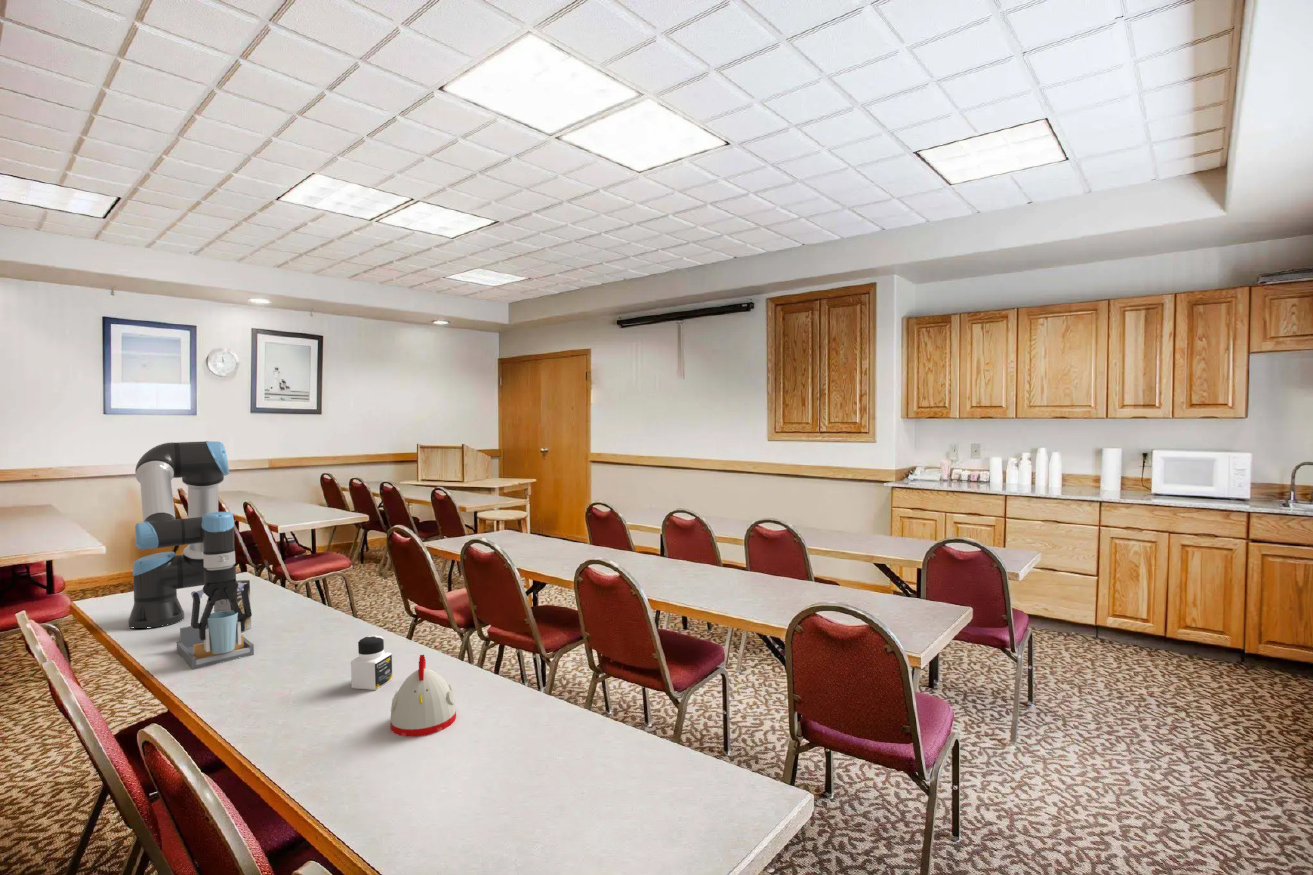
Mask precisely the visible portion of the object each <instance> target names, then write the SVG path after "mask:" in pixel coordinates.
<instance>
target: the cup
mask: <svg viewBox="0 0 1313 875" xmlns="http://www.w3.org/2000/svg"><path fill="white" fill-rule="evenodd" d="M237 617H238V613H235V612H234V611H221V612H216V613H214V612H211V614H210V617H209V618H208V622H207V627H208V628H209V641H210V647H211V652H212V653H213V654H222V653H227V652H230V651H232V650H234V649H235V640H236V628H237Z"/></svg>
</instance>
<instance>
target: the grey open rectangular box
mask: <svg viewBox="0 0 1313 875" xmlns="http://www.w3.org/2000/svg"><path fill="white" fill-rule="evenodd" d="M206 626H207V625H206ZM179 635H180V636H179V637H180V640H179V641H177V642H176V654H177V655H179V657H180V658H181V659H182V658H183V659H182V660H183V661H184V662H185V663H186V664H187V666H188V667H189V668H190V669H191V670H195V669H200V668H204V666H205V667H208V666H212V665H216V663H217V664H221V663H224V662H223V661H225V662H230V661H233V659H234V660H236V658H238V659H240V658H239V657H242V658H245V657H249V656H253V655H255V653H254V652H255V651H254V650H255V649H254V646H255V645H254V643H253V642H251V641H250V640H249V639H247V638H246V637H245V636H244V648H243V649H239V650H235V651H231V652H227V653H222V654H218V655H214V656H209V657H205V658H201V659H196V657H195V656H194V647H193V645H195V644H200V643H204V640H202V641H201V640H200V638H199V629H197V628H195V629H194V628H193V627H192V626H191V625H190V626H184V627H179ZM220 662H221V663H220Z"/></svg>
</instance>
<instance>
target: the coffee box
mask: <svg viewBox="0 0 1313 875" xmlns="http://www.w3.org/2000/svg"><path fill="white" fill-rule="evenodd" d="M236 581H237V582H238V583H247V584H248V585H249V589H248V596H249V602H250V607H251V582H250V581H251V580H250V579H246V580H245V579H243V580H241V579H240V580H236ZM233 596H234V598H235V600H236V602H237V604H238V606H239V608H240V610H241V612H242V614H244V607H243V602H242V596H241V591H240V590H239V588H238V587H237V589H236V590H235V592H234V593H233ZM251 608H252V607H251ZM213 609H214V610H213V611H214V612H213V613H216V612H221V611H234V610H233V608H232V606H231V604H230V602H229V600H228V599H222V600H219V601H216V602H215V605H214V606H213ZM237 620H238V618H237ZM244 622H245V630H244V632H247V631H248V630H250V629H252V616H251V617H248V618H246V620H245V621H244ZM241 634H243V632H241Z"/></svg>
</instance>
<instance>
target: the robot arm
mask: <svg viewBox="0 0 1313 875" xmlns="http://www.w3.org/2000/svg"><path fill="white" fill-rule="evenodd" d="M226 452H227V451H226V447H225V445H224V443H223V442H221V441H210V440H205V441H181V442H164V443H161V444H158V445H156V446H153V447H152V448H151V449H149V450H148V451H146V452H145V453H144V454H143V455H142V456H141V457H140V458H139V460H138V462H137V463H136V467H135V474H134V475H135V479H136V481H137V482H138V483H139V484H140V495H141V497H140V498H141V500H140V501H141V511H142V521H141V522H137V523H136V524H135V526H134V529H135V530H134V531H135V532H134V534H135V536H134V537H135V546H136V548H137V549H138V550H146V549H147V550H149V549H150V550H151V549H152V550H155V549H159V548H166V547H167V548H169V547H176V546H177V547H178V546H186V547H185V548H184V549H183V551H182V552H183V553H182V554H178V555H177V554H176V552H175V551H163V552H157V553H152V554H149V555H146V556H143V557H140V558H137V559H136V560H135V561H134V562H133V564H132V573H131V574H132V577H133V582H132V583H133V606H132V608H131V612H130V615H129V618H128V624H127V625H128V628H129V627H134V628H147V627H157V628H159V627H158V626H162V625H167V624H171V623H174V624H177V623H179V622H181V621H183V620H184V619H185V613H184V612H185V611H184V609H183V607H182V605H181V603H180V601H179V598H178V592H177V590H179V589H181V590H182V589H186V588H187V589H188V588H193V587H201V586H203V587H202V589H200V590H197V591H196V590H195V591H192V592H191V594H190V595H191V598H192V608H191V609H192V610H191V621H190V626H192V627H193V628H194V629H195V628H197V629H199V638H200V640H201V641H202V640H204V650H205V651H206V652H210V642H209V628H208V627H207V626H206V625H207V622H208V618H209V617H210V614H212V611H213V609H214V605H215V602H216V601H219V600H222V599H228V600H229V602H230V604H231V606H232V608H233V610H234V612H235V613H238V617H237V618H238V620H237V628H236V643H237V644H238V645H240V644H241V634H242V633H244V632H245V631H244V630H245V622H244V621H245V620H246V618H248V617H251V618H252V615H253V614H252V607H250V604H251V601H250V602H249V596H248V589H249V585H248V584H247V583H238V582H237V581H238V580H237V571H236V570H237V568H236V566H235V564H236V551H235V550H236V548H235V521H234V514H233V513H232V512H231V511H219V485H220V484H222V483H223V482H224V481H225V480H224V479H225V476H228V475H229V474H230V469H229V468H230V466H229V462H228V457H227V453H226ZM178 478H180V479H181V482H182V484H184V485H186V486H187V516H188V517H187V518H177V519H176V512H175V504H174V495H173V488H172V486H173V485H172V480H173V479H178ZM237 587H238V588H239V590H240V591H241V596H242V602H243V607H244V614H242V612H241V610H240V608H239V606H238V604H237V602H236V600H235V598H234V596H233V593H234V592H235V590H236V589H237ZM204 594H205V595H206V596H207V600H206V605H205V607H204V610H203V613H202V616H201V617H200V609H201V599H202V598H203V595H204ZM182 619H183V620H182ZM199 619H200V621H199ZM180 620H181V621H180ZM178 621H179V622H178ZM176 622H177V623H176ZM171 625H172V624H171ZM167 626H168V625H167ZM162 627H163V626H162ZM243 631H244V632H243ZM241 632H242V633H241Z"/></svg>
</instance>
